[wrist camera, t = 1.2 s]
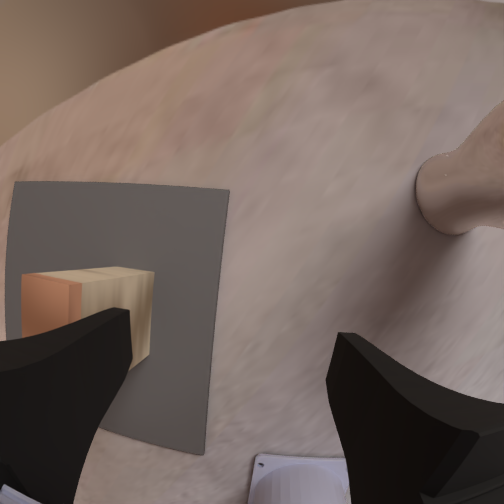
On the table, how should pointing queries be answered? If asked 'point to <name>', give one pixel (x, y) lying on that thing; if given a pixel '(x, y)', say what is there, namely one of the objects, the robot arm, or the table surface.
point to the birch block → (88, 300)
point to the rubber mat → (141, 258)
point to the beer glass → (466, 181)
